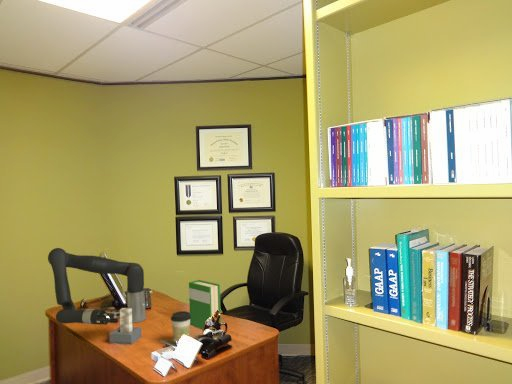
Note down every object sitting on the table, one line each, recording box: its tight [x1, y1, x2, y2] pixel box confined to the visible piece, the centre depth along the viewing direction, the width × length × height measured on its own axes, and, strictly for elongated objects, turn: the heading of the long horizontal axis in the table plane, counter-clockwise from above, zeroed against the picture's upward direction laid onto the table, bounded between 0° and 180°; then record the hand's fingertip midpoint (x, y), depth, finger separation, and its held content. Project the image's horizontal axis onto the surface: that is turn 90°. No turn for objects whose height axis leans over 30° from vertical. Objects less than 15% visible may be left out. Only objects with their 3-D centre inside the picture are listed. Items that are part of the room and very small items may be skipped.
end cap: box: [108, 326, 143, 346], centre depth 194 cm, size 12×10×5 cm
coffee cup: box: [170, 311, 191, 342], centre depth 186 cm, size 10×10×15 cm
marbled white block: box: [119, 307, 133, 333], centre depth 193 cm, size 5×3×15 cm, turn 78°
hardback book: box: [188, 279, 222, 330], centre depth 209 cm, size 18×7×24 cm, turn 48°
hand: (122, 317), depth 194 cm, fingers open, 8 cm apart
